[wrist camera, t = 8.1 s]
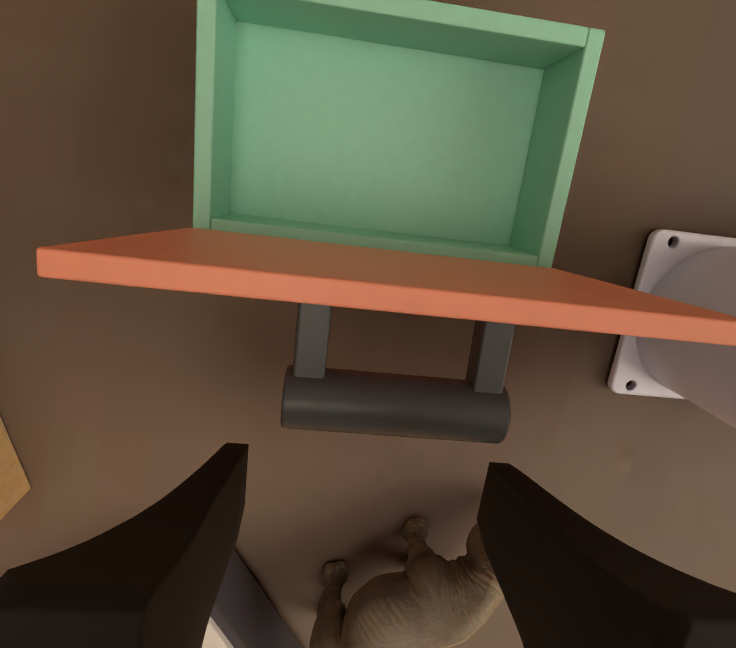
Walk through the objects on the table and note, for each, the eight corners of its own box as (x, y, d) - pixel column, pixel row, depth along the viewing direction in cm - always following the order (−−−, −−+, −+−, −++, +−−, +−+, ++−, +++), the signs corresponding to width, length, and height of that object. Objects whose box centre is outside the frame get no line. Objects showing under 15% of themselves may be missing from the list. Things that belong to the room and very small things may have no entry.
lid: (33, 246, 8) (43, 452, 9) (766, 324, 9) (711, 494, 10) (189, 227, 16) (186, 331, 17) (555, 268, 17) (536, 363, 18)
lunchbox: (224, 6, 18) (197, -40, 14) (554, 59, 19) (606, 29, 16) (217, 224, 20) (191, 233, 16) (513, 258, 21) (550, 273, 18)
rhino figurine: (544, 508, 25) (606, 603, 20) (332, 627, 27) (331, 748, 21) (510, 453, 24) (565, 537, 19) (290, 580, 26) (277, 695, 20)
